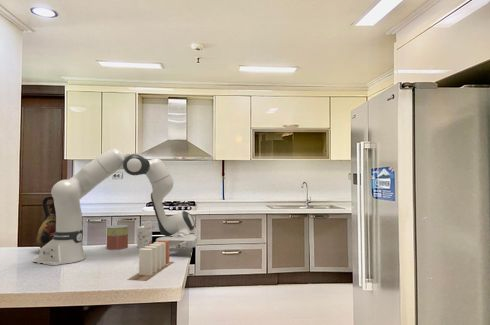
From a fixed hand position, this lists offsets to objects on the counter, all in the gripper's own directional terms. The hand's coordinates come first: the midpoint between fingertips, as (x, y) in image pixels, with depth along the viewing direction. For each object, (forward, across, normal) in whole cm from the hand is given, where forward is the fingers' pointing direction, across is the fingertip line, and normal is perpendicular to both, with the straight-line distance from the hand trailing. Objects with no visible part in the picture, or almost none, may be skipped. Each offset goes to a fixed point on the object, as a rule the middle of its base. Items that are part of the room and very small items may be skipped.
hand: (170, 245), depth 146 cm
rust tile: (+7, 0, +6) cm, 9 cm away
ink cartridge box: (-28, -28, +8) cm, 41 cm away
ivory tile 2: (+11, 0, +6) cm, 13 cm away
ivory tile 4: (+19, 0, +6) cm, 20 cm away
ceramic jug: (-9, -72, +8) cm, 73 cm away
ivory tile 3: (+15, 0, +6) cm, 16 cm away
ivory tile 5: (+23, 0, +6) cm, 24 cm away
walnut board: (+17, 0, +8) cm, 19 cm away
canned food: (-23, -42, +8) cm, 49 cm away
